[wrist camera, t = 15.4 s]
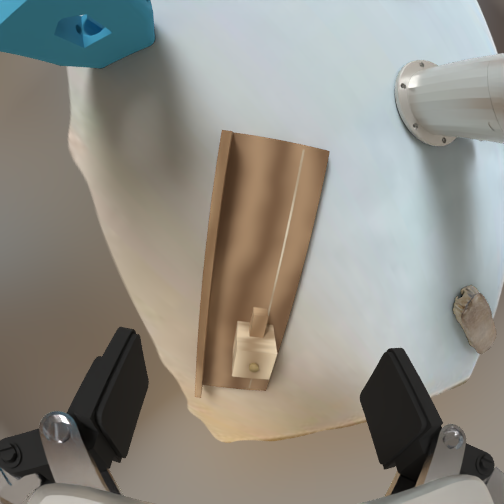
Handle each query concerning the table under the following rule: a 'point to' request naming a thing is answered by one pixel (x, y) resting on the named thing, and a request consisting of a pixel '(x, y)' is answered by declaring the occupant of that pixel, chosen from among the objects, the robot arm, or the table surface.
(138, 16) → the block
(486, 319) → the beige mottled oblong part
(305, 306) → the table surface
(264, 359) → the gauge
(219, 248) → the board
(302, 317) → the table surface
